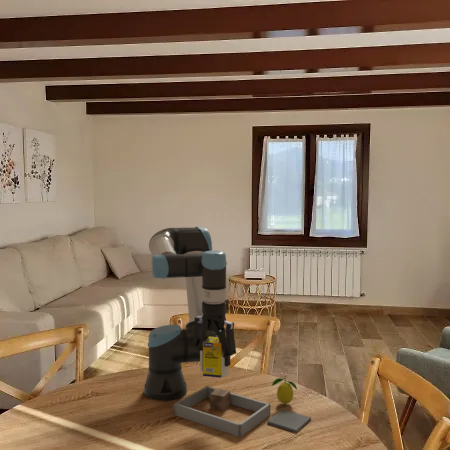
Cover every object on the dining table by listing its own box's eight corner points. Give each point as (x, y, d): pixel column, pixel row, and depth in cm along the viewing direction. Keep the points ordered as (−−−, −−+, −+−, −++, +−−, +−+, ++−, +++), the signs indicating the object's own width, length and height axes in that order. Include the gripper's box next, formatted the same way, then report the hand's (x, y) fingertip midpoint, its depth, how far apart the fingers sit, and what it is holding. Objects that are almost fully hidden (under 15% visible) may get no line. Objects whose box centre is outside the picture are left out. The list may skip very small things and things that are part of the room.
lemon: (271, 405, 166) (271, 376, 165) (280, 399, 171) (280, 370, 170) (288, 410, 162) (289, 380, 161) (297, 404, 167) (297, 375, 166)
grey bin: (173, 414, 159) (173, 403, 159) (206, 395, 174) (206, 385, 173) (240, 437, 145) (240, 425, 144) (270, 414, 159) (270, 403, 159)
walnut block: (210, 408, 164) (210, 393, 163) (216, 402, 168) (216, 388, 168) (223, 411, 162) (223, 396, 161) (230, 405, 166) (230, 390, 166)
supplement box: (221, 378, 152) (221, 343, 151) (202, 376, 153) (202, 342, 152) (225, 370, 157) (225, 337, 156) (207, 369, 159) (207, 336, 158)
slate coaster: (267, 423, 153) (267, 421, 153) (282, 411, 161) (282, 409, 161) (296, 432, 147) (296, 430, 147) (310, 419, 155) (310, 417, 155)
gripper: (180, 299, 156) (181, 369, 158) (234, 308, 144) (234, 384, 146) (195, 294, 162) (196, 362, 164) (248, 303, 150) (248, 376, 152)
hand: (214, 372), depth 155 cm, fingers closed on supplement box, 8 cm apart
